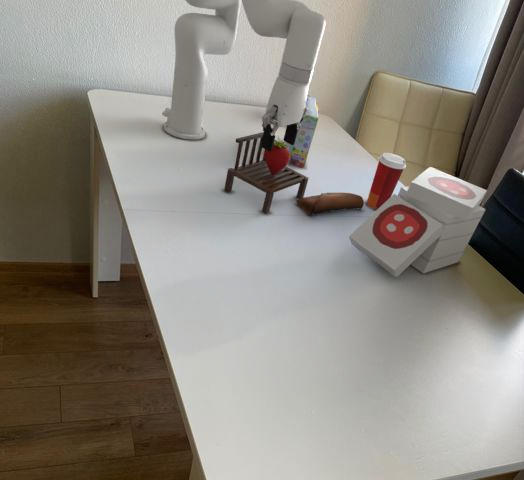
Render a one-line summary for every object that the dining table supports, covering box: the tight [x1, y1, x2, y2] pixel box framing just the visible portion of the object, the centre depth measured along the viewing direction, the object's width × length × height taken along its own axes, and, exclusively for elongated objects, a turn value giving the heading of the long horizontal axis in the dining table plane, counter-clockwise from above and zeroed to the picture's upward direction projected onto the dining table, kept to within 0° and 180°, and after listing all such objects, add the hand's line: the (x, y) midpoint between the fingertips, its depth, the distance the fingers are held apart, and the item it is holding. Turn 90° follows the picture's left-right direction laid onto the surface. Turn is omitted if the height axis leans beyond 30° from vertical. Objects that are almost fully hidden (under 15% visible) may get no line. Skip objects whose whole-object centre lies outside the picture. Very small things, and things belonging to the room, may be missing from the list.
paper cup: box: [366, 152, 407, 211], centre depth 148 cm, size 8×8×14 cm
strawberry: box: [263, 135, 290, 175], centre depth 134 cm, size 6×8×10 cm
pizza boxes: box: [348, 166, 488, 278], centre depth 127 cm, size 19×30×18 cm, turn 128°
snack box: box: [287, 95, 319, 168], centre depth 165 cm, size 21×6×15 cm, turn 179°
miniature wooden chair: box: [223, 131, 310, 215], centre depth 137 cm, size 14×17×14 cm
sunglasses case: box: [295, 192, 365, 216], centre depth 143 cm, size 18×7×7 cm
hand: (277, 146), depth 133 cm, fingers open, 9 cm apart
